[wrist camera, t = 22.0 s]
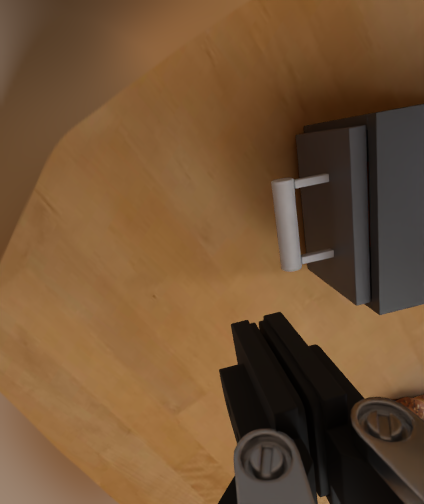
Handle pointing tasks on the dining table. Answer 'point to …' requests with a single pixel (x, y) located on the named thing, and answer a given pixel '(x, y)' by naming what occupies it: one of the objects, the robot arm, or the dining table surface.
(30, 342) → the dining table surface
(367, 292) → the drawer
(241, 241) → the dining table surface
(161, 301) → the dining table surface
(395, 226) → the cabinet
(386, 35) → the dining table surface
